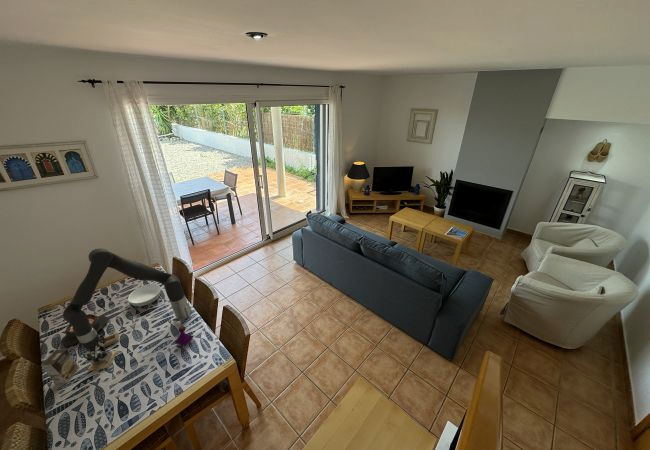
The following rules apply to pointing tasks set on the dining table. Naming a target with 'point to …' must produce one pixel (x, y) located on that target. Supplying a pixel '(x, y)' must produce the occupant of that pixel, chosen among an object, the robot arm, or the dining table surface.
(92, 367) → the keeper
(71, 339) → the casserole
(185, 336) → the perfume bottle
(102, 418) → the dining table surface
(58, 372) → the coffee box
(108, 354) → the link
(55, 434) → the dining table surface
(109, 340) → the link
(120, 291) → the dining table surface
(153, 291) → the serving bowl
